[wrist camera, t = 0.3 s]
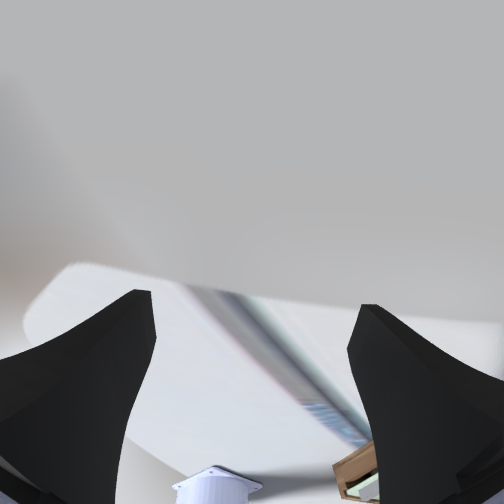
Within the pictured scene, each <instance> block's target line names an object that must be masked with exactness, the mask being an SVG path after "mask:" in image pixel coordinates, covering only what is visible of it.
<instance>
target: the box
mask: <svg viewBox="0 0 504 504" xmlns="http://www.w3.org/2000/svg"><path fill="white" fill-rule="evenodd" d="M376 467H377V461H376V453H375V447H374V442H373V440H371V441H370V442H369V443H367V444H366V445H364V446H363V447H361V448H360V449H358V450H357V451H355V452H354V453H352V454H351V455H349V456H348V457H346V458H344V459H343V460H341V461H340V462H338V463H336V464H335V465H333V470H334V473H335V477H336V481H337V484H338V488H339V492H340V495H341V499H347V500H352V501H359V502H366V503H373V504H379V500H377V499H370V500H368V501H361V498H360V497H358V496H352V495H348V494H347V490H349V489H351V488H353V487H355V486H356V485H358V484H360V483H362V482H363V481H365V480H367V479H368V478H370V477H372V476H371V473H370V471H372V470H373V469H375V468H376Z"/></svg>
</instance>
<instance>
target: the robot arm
mask: <svg viewBox="0 0 504 504" xmlns="http://www.w3.org/2000/svg"><path fill="white" fill-rule="evenodd" d="M156 338H157V337H156V331H155V323H154V316H153V308H152V299H151V291H146V290H137V289H134V290H132V291H130V292H128V293H127V294H125V295H123V296H122V297H120V298H119V299H117V300H116V301H114V302H113V303H111V304H110V305H108V306H107V307H105V308H104V309H102V310H101V311H99V312H98V313H96V314H95V315H93V316H92V317H90V318H89V319H87V320H85V321H84V322H82V323H80V324H79V325H77V326H75V327H74V328H72V329H71V330H69V331H67V332H65V333H64V334H62V335H60V336H58V337H56V338H54V339H52V340H50V341H48V342H46V343H44V344H41V345H39V346H37V347H34V348H32V349H29V350H27V351H24V352H22V353H19V354H16V355H14V356H11V357H7V358H4V359H1V360H0V504H115V492H116V482H117V473H118V466H119V461H120V455H121V449H122V444H123V439H124V435H125V431H126V426H127V422H128V419H129V416H130V413H131V410H132V407H133V405H134V402H135V400H136V397H137V394H138V392H139V389H140V387H141V384H142V382H143V379H144V377H145V374H146V372H147V369H148V367H149V364H150V362H151V358H152V354H153V350H154V346H155V342H156ZM347 352H348V357H349V362H350V367H351V371H352V374H353V377H354V380H355V383H356V386H357V389H358V392H359V394H360V397H361V400H362V403H363V406H364V409H365V412H366V415H367V417H368V420H369V424H370V428H371V431H372V436H373V442H374V447H375V453H376V461H377V469H378V481H379V504H504V381H503V380H500V379H497V378H494V377H492V376H489V375H487V374H485V373H483V372H481V371H478V370H476V369H474V368H472V367H470V366H468V365H466V364H464V363H463V362H461V361H459V360H457V359H456V358H454V357H452V356H450V355H449V354H447V353H446V352H444V351H442V350H441V349H439V348H438V347H436V346H435V345H434V344H432V343H431V342H429V341H428V340H426V339H425V338H423V337H422V336H421V335H419V334H418V333H417V332H415V331H414V330H413V329H411V328H410V327H409V326H407V325H406V324H404V323H403V322H402V321H400V320H399V319H398V318H396V317H395V316H394V315H392V314H391V313H389V312H388V311H387V310H385V309H384V308H382V307H380V306H378V305H377V304H374V305H373V304H362V305H361V308H360V311H359V314H358V317H357V321H356V324H355V327H354V330H353V332H352V335H351V338H350V341H349V344H348V347H347ZM261 488H263V485H262V484H259V483H256V482H253V481H250V480H248V479H245V478H242V477H239V476H237V475H234V474H232V473H229V472H227V471H224V470H222V469H219V468H217V467H211V468H209V469H207V470H205V471H203V472H201V473H199V474H197V475H194V476H192V477H190V478H188V479H186V480H184V481H182V482H179V483H177V484H175V485H173V489H176V490H178V494H177V500H176V504H248V494H250V493H252V492H254V491H257V490H259V489H261Z"/></svg>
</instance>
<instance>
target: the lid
mask: <svg viewBox="0 0 504 504" xmlns="http://www.w3.org/2000/svg"><path fill="white" fill-rule="evenodd" d="M347 494H348V495H352V496H358V497H360V498H361V501H368V500H370V499H377V500H379V481H378V473H377V474H375V475H373V476H372V477H370V478H368V479H367V480H365V481H363V482H362V483H360V484H358V485H356V486H355V487H353V488H351V489H349V490H347Z"/></svg>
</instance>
